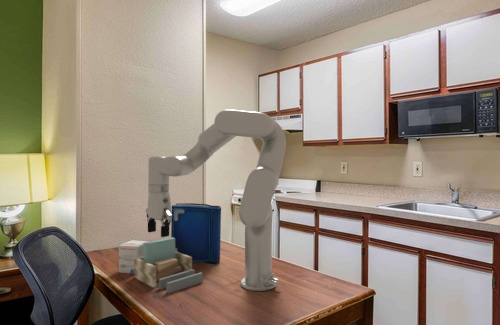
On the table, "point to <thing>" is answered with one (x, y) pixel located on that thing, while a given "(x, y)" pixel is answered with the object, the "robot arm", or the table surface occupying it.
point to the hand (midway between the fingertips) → (158, 234)
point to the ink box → (129, 255)
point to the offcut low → (168, 273)
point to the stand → (180, 281)
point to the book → (197, 231)
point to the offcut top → (166, 264)
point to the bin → (148, 271)
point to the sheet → (159, 250)
